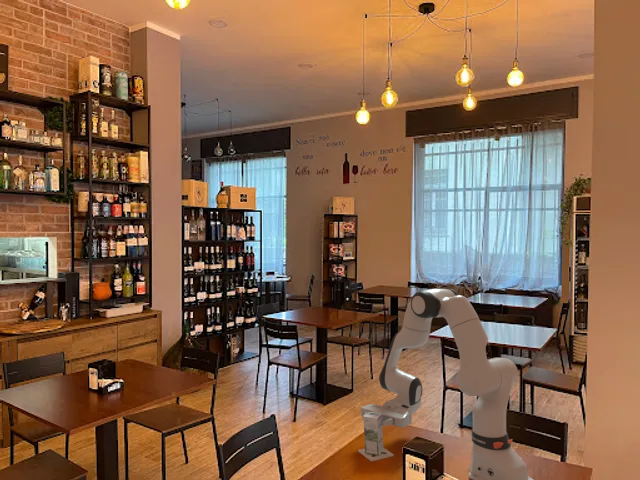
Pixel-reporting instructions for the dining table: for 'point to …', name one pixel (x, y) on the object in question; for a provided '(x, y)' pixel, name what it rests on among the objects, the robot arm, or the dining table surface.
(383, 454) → the letter card
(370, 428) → the syrup box
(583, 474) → the dining table surface
